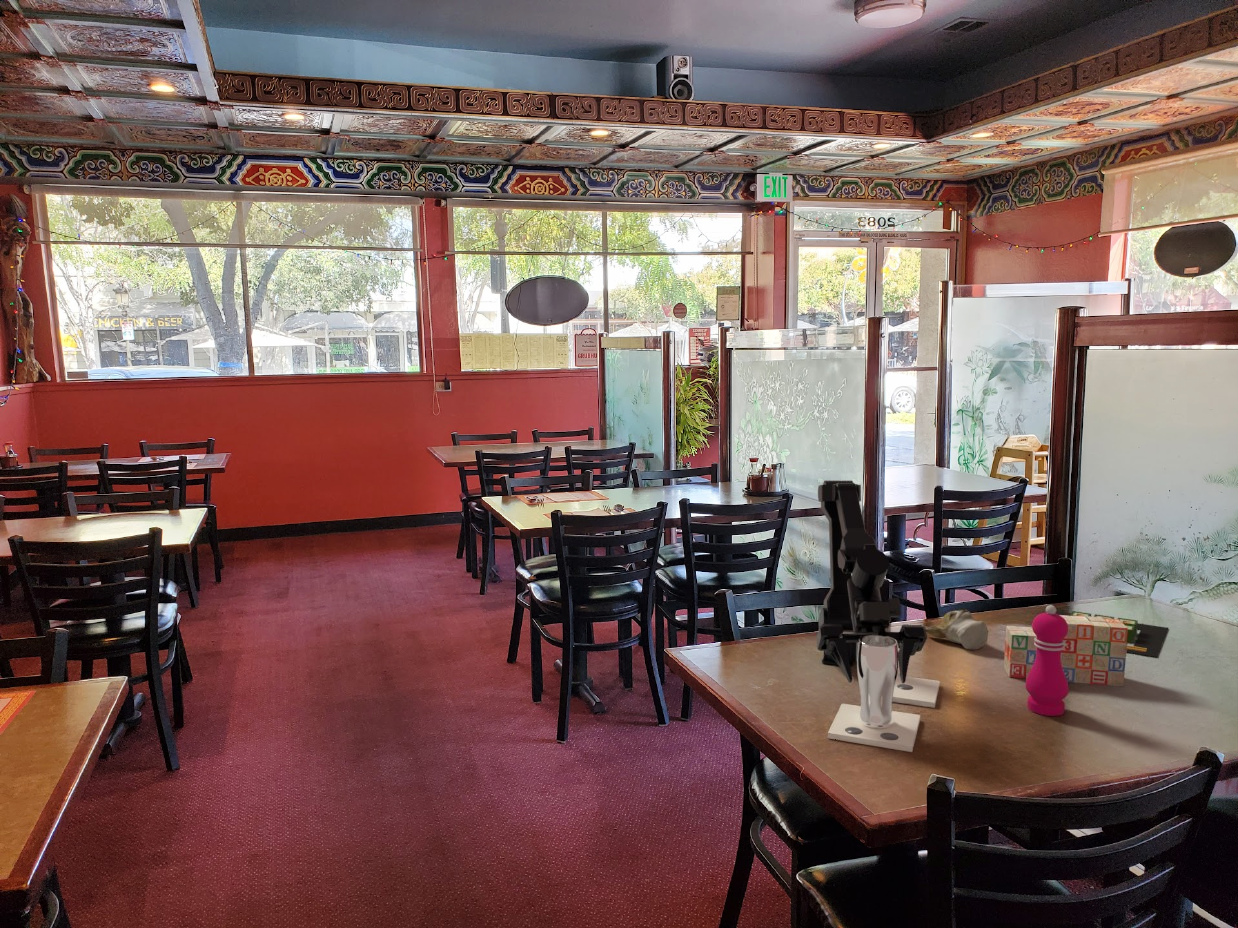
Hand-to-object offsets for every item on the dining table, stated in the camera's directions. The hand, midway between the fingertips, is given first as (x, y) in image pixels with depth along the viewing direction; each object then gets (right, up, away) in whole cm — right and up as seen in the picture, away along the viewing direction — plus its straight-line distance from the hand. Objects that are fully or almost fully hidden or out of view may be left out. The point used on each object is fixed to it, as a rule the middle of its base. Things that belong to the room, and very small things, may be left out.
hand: (877, 681), depth 156 cm
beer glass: (0, -8, +2) cm, 8 cm away
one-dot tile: (+11, -7, +19) cm, 23 cm away
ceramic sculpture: (+33, -3, +48) cm, 58 cm away
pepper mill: (+34, -8, +10) cm, 36 cm away
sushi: (+68, -2, +54) cm, 87 cm away
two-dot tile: (0, -9, +2) cm, 9 cm away
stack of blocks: (+46, -6, +26) cm, 53 cm away
